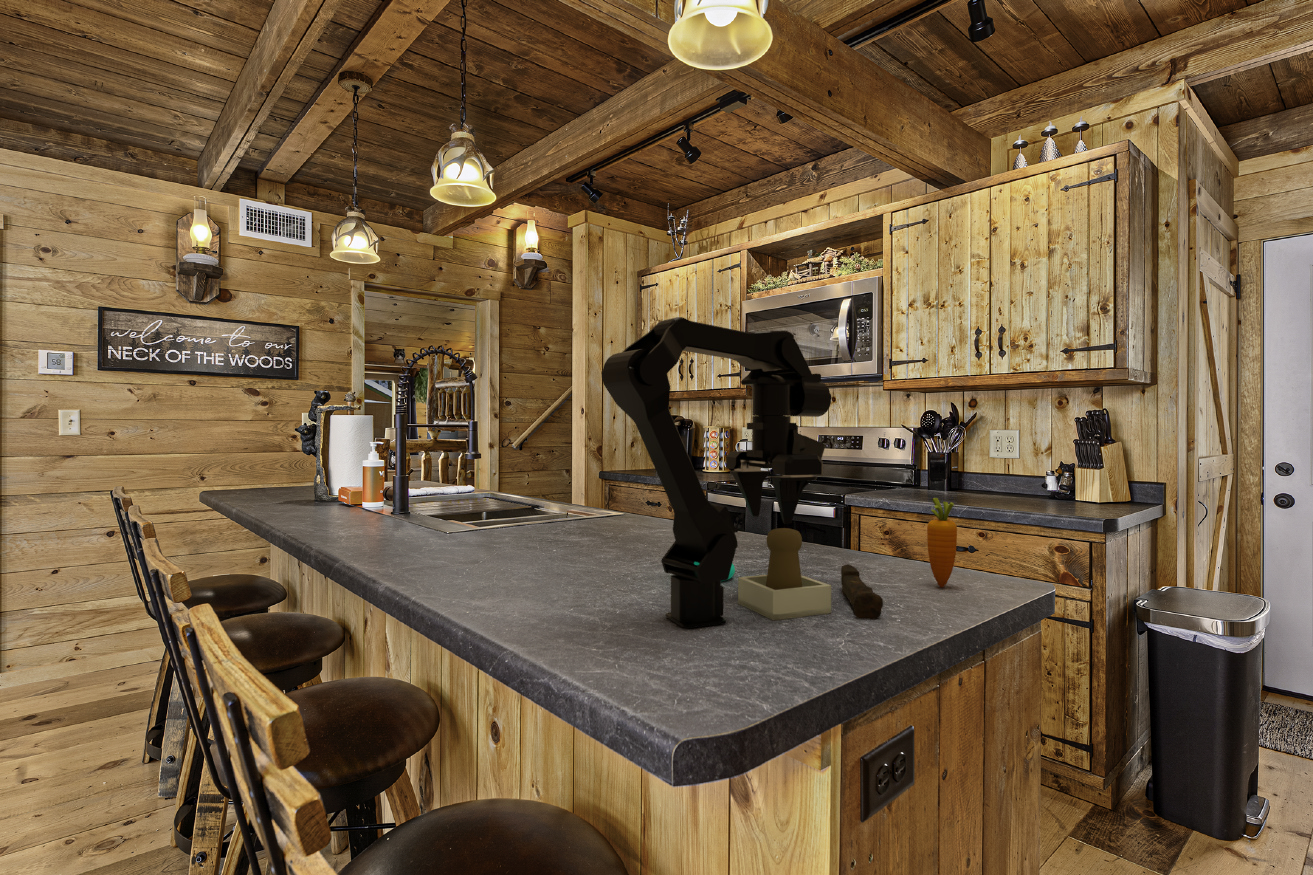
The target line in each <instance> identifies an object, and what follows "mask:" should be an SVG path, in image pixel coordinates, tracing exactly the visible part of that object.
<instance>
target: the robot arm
mask: <svg viewBox="0 0 1313 875" xmlns="http://www.w3.org/2000/svg"><path fill="white" fill-rule="evenodd" d="M683 352H687V353H693V354H699V355H706V356H712V357H717V358H724V359H730V360H732V361H735V362H737V363H738V364H739V365H740V366H742V367H744V368H746V369H747V370H748V369H749V370H750V372H749V373H748V374H747V375H746V376H744V378H742V379H741V381H740V384H741V385H742V386H751V388H752V389H751V393H752V394H751V399H752V404H751V405H752V406H751V407H752V408H751V412H752V413H751V414H752V415H751V422H746V430H751V441H752V442H751V449H746V450H733V451H732V450H731V451H730V452H729V453H728V454H727V455H726V457H725V468H726V469H731V470H729V472H730V475H732V477H733V479H734V480H735V482H736V484H737V486H738V489H739V490H740V493H741V495H742V497H743V499H744V501H745V503H746V506H747V508H748V509H749V512H750V514H751V516H752V517H759V516H760V513H761V508H762V507H761V506H762V496H763V486H764V481H765V480H766V479H767V478H768V476H769V475H770V473H771V470H772V471H773V473H774V475H776V476H773V475H772V476H771V479H772V485H773V489H774V492H775V496H776V500H777V505H778V509H779V513H780V517H781V521H782V522H783V524H784V525H790V524H791V523H792V522H793V520H794V517H795V513H796V510H797V506H798V504H799V501H800V498H801V496H802V493H803V491H804V489H805V488H806V487H807V486H808V485H809V484H810V483H811V482H812V481H816V480H817V478H818V475H823V473H824V470H823V469H824V468H823V466H824V464H823V463H824V462H823V455H824V453H825V452H824V451H825V448H826V446H827V445H826V443H823V442H821V441H818V440H816V439H815V438H814V439H813V438H811V437H809V436H806V435H803V434H800V433H799V427H798V425H797V422H791V421H792V419H791V418H792V417H812V418H815V417H816V418H818V417H822V416H823V415H826V413H827V412H828V411H829V409H830V407H831V404H832V394H831V392H830V391H831V390H830V389H829V387H828V386H827V384H826V383H824V382H823V381H822V375H821V373H812V371H811V369H810V367H809V365H808V362H807V361H806V359H805V357H804V355H803V353H802V350H801V348H800V346H799V344H798V342H797V341H796V339H795V334H793V333H792V332H791V331H788V330H770V331H769V330H765V331H756V332H755V331H752V332H747V331H742V330H738V329H737V330H736V329H733V328H727V327H722V326H718V325H713V324H707V323H703V322H698V321H693V320H689V319H687V318H685V317H682V316H681V317H680V316H677V317H672V318H668V319H662V320H660V321H658V322H657V324H655V325H654V326H653V327H652V328H651V329H650V330H649V331H648V332H647V333H646V334H644V335H642V336H641V337H640V338H639V339H637V340H636V341H635V340H634V342H633V343H631V344H630V345H628V346H627V347H626V348H624V350H623V351H621V352H617V353H614V354H612V355H610V356H609V357H608V358H607V359H606V360H605V362H604V364H603V369H602V371H601V380H602V383H603V386H604V387H605V389H606V390H607V392H608V393H609V395H610V397H611V398H612V400H613V401H614V403H615V404H616V405H617V407H618V408H620V409H621V410H622V411H623V412H624V413H625V414H626V415H627V416H628V417H629V418H630V419H631V420H632V421H633V423H634V424H635V426H636V429H637V430H638V433H639V435H640V437H641V440H642V443H643V445H644V446H645V449H646V451H647V454H648V456H649V458H650V460H651V462H652V464H653V467H654V469H655V472H656V473H657V476H658V478H659V480H660V483H661V485H662V487H663V490H664V492H665V494H666V496H667V499H668V501H669V502H670V503H669V504H670V505H671V507H672V510H673V513H674V515H673V522H672V523H673V524H672V532H673V538H674V540H675V541H674V542H672V544H671V546H670V547H669V548H668V550H667V551H666V552H665V553H664V555H663V556H662V558H661V560H660V561H661V564H662V568H663V571H664V573H665V574H671V575H670V612H666V613H665V618H668V619H669V621H670V620H671V621H672V622H674V623H675V624H677V625H678V626H680V627H681V628H684V629H691V628H698V627H700V628H701V627H708V626H714V625H715V626H716V625H722V624H723V625H724V624H725V625H726V624H727V619H726V618H725V617H723V616H724V590H725V588H724V586H723V585H722V584H721V583H722V582H723V581H722V580H725V581H728V580H729V579H728V577H729V573H730V570H731V566H732V563H733V562H734V558H735V554H736V550H737V548H738V546H739V545H738V544H739V543H738V538H737V535H736V533H738V532H739V530H738V529H737V528H736V527H735V525H734V523H733V521H732V518H731V512H730V511H729V509H728V508H727V506H723V505H716V504H711V503H710V502H709V500H708V498H707V496H706V494H705V492H704V489H703V486H702V484H701V481H700V479H699V477H698V475H697V473H696V470H695V469H694V468H695V467H694V466H693V463H692V460H691V458H690V456H689V454H688V451H687V449H686V447H685V444H684V442H683V440H682V437H681V435H680V433H679V430H678V427H677V425H676V423H675V420H674V418H673V416H672V414H671V411H670V408H669V404H670V394H671V384H670V380H669V376H668V373H669V372H670V371H671V370H673V368H674V367H675V366H676V365H677V364H678V362H679V361H680V357H681V355H682V353H683ZM762 469H771V470H762ZM814 475H815V476H814ZM694 562H698V563H700V564H699V565H695V564H694ZM727 579H728V580H727Z"/></svg>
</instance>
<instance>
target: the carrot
mask: <svg viewBox="0 0 1313 875" xmlns="http://www.w3.org/2000/svg"><path fill="white" fill-rule="evenodd" d="M932 502H933V504H934V509H931V510H930V512H932V514H933V515H934V516H935V517H936V518H937V519H935V518H934V519H932V520H930V521H929V522H927V530H926V533H927V553H928V558H929V564H930V570H931V572H932V574H933V578H934V579H935V581H936V583H937V585H938V586H939V587H940V588H942V589H943V588H944V587H945V586H946V584H948V581H949V580H950V578H951V575H952V572H953V569H954V566H955V562H956V554H957V544H958V542H957V541H958V540H957V539H958V527H957V524H956V522H954V521H953V520H950V519H949V518H948V517H949V515H950V513H951V510H952V509H953V507H954V505H955V504H954V502H950V503H949V502H947V501H943V502H942V504H943V506H942V505H941V501H940V500H939V498H938V497H933V498H932Z"/></svg>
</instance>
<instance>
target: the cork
mask: <svg viewBox="0 0 1313 875" xmlns="http://www.w3.org/2000/svg"><path fill="white" fill-rule="evenodd" d="M802 544H803V538H802V534H801V533H800V531H798V530H796V529H792V528H788V527H780V528H779V527H778V528H773V529H770V531H769V532H768V533H767V535H766V545H767V549H769V551H770V552H769V559H768V560H769V561H768V565H767V566H768V567H767V574H766V575H767V581H766V587H769V588H771V589H774V590H780V589H789V588H798V587H803V586H802V578H801V575H802V570H801V564H800V557H799V556H800V555H799V551H800V550H801V548H802Z"/></svg>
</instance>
